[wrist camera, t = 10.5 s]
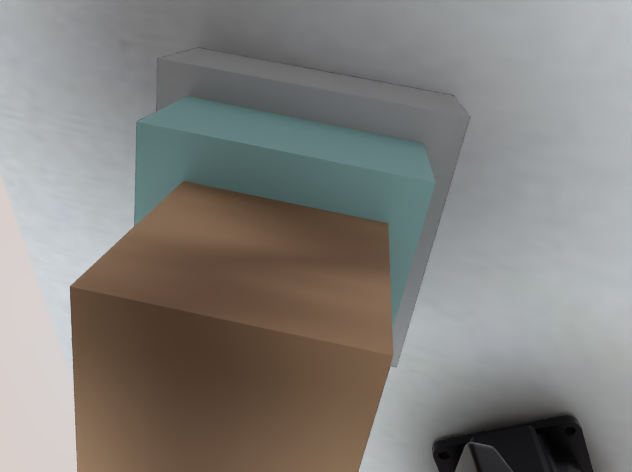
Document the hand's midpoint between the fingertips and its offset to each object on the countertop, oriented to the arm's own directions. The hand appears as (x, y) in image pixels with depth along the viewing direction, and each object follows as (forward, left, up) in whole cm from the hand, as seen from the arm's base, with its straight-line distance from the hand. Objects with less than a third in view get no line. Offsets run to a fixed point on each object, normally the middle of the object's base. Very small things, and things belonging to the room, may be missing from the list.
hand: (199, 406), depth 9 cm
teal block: (0, 0, -8) cm, 8 cm away
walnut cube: (-1, 0, -5) cm, 5 cm away
